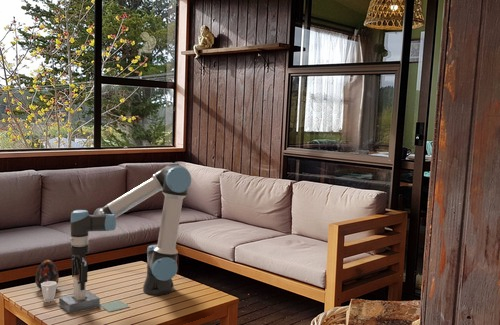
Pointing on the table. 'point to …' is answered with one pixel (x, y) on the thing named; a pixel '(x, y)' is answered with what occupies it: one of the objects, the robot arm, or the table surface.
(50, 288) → the cup
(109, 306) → the mat
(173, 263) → the robot arm
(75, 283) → the plug
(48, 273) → the egg
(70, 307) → the grey square holder
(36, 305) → the table surface
